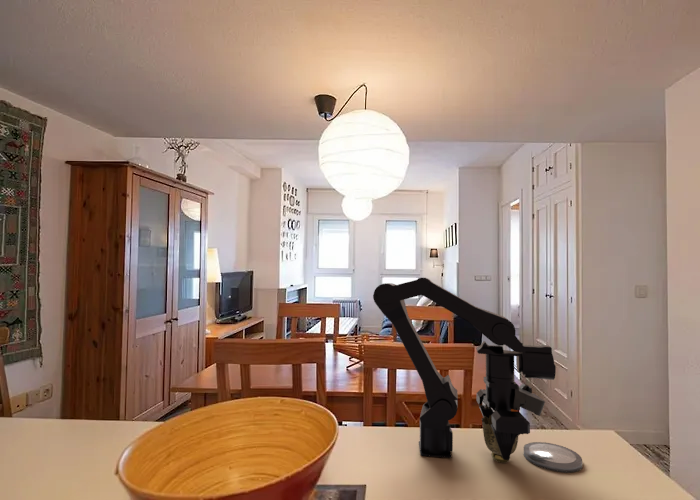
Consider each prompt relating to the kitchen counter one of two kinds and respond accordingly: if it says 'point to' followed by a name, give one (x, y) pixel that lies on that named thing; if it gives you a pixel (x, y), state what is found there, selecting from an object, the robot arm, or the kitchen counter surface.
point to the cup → (494, 440)
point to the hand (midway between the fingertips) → (500, 450)
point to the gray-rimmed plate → (553, 457)
